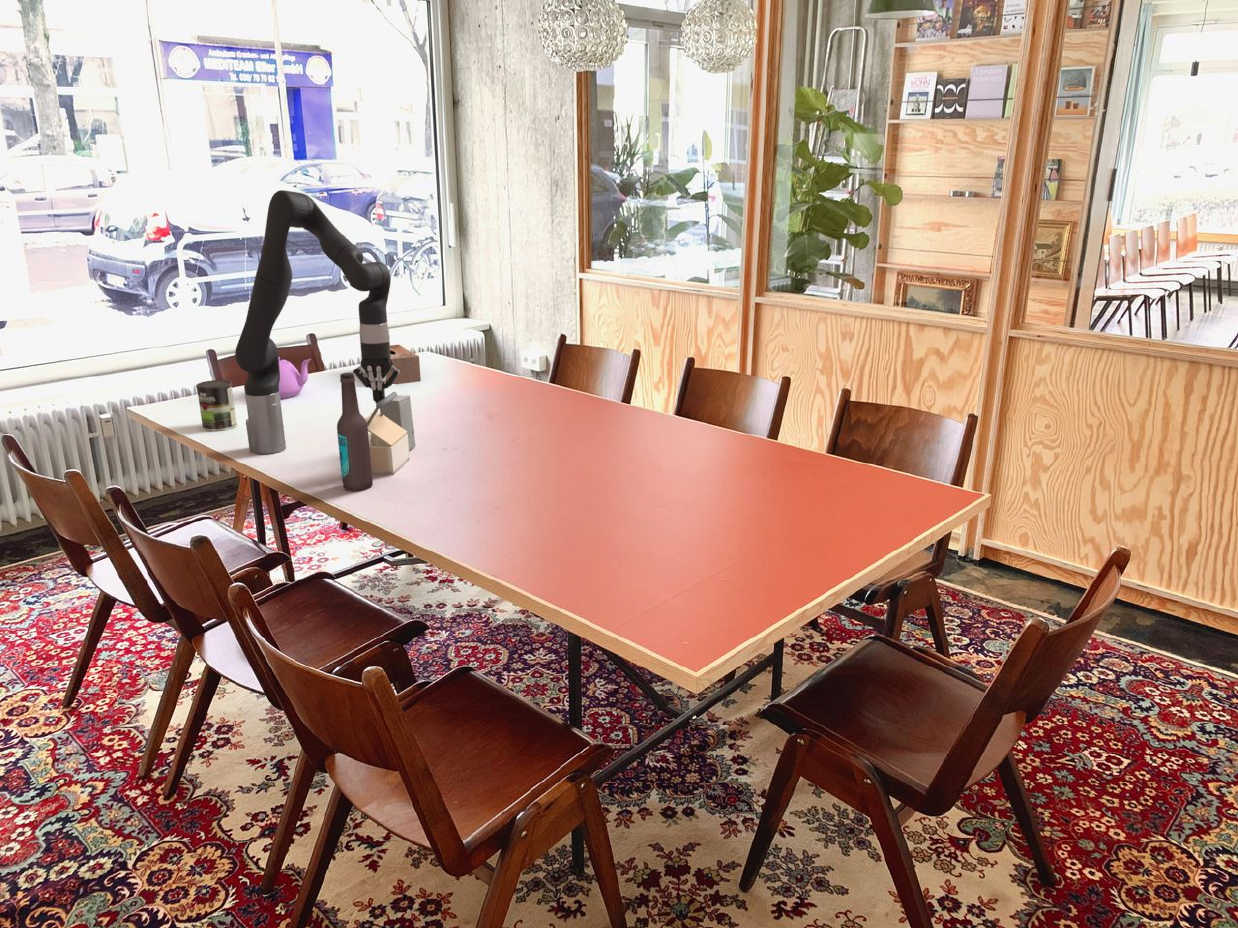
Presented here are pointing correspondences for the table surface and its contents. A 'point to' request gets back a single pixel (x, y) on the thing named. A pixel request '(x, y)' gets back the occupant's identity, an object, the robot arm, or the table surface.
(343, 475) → the beer bottle
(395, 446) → the carton
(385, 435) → the flap
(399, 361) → the tissue box cover
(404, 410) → the skincare box
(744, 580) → the table surface
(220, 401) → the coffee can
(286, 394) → the teapot
